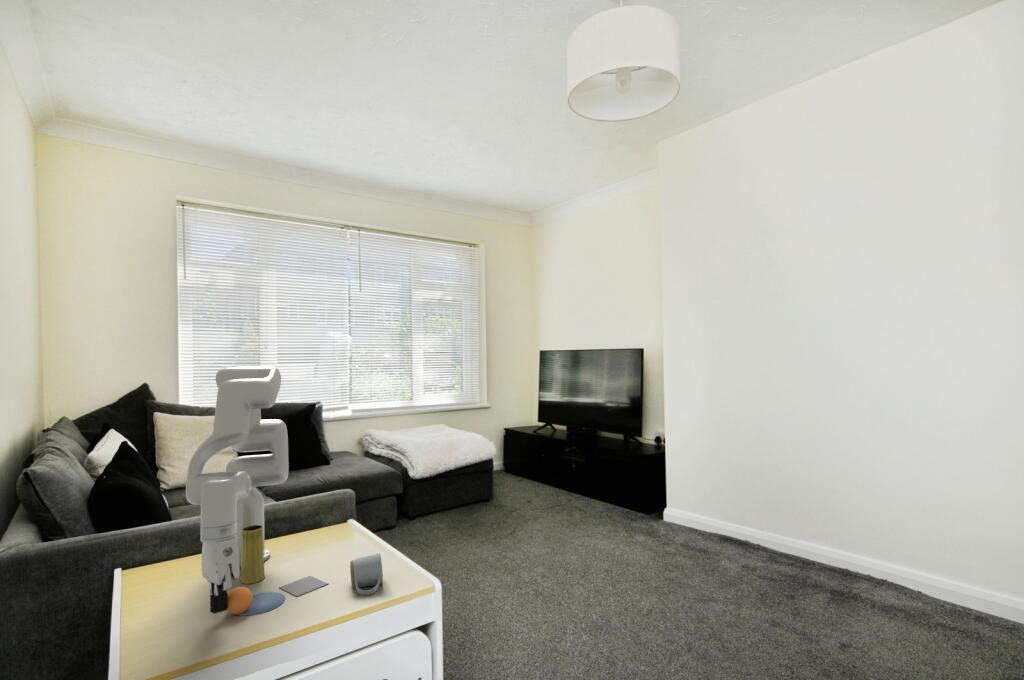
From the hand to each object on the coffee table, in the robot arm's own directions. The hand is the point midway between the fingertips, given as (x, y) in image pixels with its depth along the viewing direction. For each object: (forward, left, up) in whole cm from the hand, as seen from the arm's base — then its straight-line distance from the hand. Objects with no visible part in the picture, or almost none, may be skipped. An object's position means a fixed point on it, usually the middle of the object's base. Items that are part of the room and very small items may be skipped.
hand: (218, 610), depth 122 cm
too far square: (-1, +22, -2) cm, 22 cm away
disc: (-1, +10, -2) cm, 10 cm away
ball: (0, +5, +1) cm, 5 cm away
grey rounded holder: (+14, +32, -3) cm, 35 cm away
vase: (-17, +16, -3) cm, 23 cm away
